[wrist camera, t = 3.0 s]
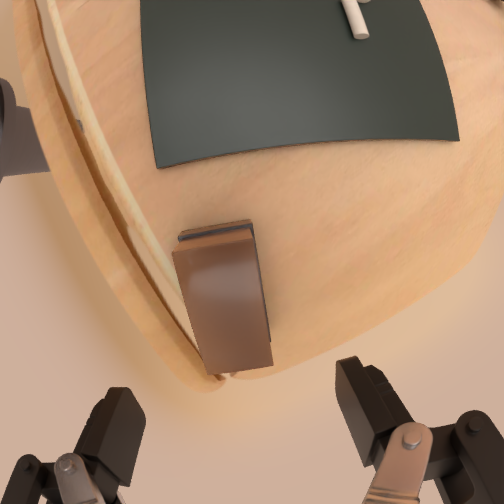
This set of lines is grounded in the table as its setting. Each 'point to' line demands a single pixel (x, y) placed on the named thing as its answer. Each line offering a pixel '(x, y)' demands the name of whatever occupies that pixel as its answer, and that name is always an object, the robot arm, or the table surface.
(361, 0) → the chalk
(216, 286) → the eraser
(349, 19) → the chalk
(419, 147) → the table surface
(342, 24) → the slate board
